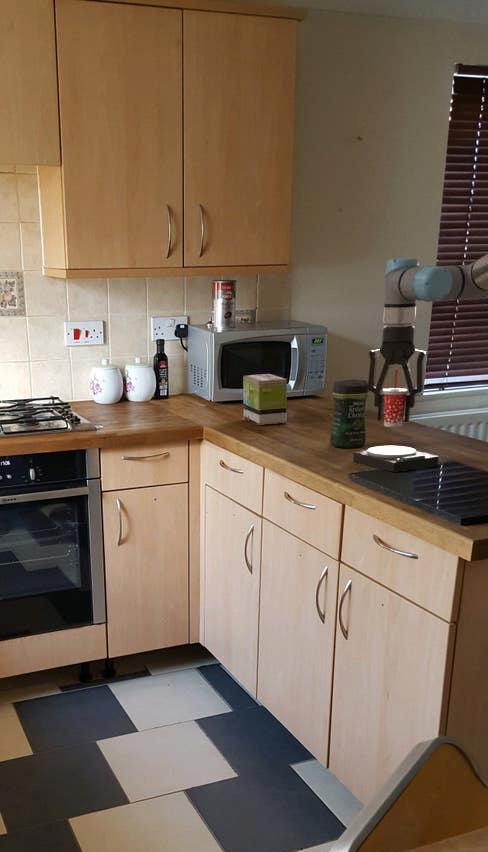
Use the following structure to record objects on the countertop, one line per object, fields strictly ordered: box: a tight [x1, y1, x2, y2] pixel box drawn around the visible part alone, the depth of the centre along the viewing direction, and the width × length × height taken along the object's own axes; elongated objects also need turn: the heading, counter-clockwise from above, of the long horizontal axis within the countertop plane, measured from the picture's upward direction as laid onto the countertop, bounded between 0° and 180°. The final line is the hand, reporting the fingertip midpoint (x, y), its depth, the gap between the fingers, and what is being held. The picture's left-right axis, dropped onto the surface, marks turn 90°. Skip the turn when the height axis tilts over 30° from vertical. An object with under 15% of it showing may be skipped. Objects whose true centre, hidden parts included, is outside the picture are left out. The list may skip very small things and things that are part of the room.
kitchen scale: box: [352, 445, 440, 473], centre depth 223 cm, size 16×14×3 cm
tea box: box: [242, 373, 288, 423], centre depth 288 cm, size 15×10×15 cm, turn 15°
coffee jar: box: [329, 378, 369, 449], centre depth 244 cm, size 10×8×19 cm
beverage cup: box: [382, 368, 409, 428], centre depth 219 cm, size 6×6×14 cm
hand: (393, 420), depth 221 cm, fingers closed on beverage cup, 6 cm apart
